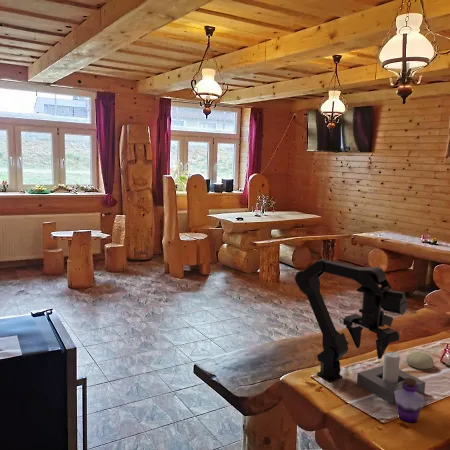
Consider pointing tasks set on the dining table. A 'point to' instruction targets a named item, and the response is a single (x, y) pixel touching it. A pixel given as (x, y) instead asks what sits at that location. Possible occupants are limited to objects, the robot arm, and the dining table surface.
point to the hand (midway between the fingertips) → (368, 353)
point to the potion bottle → (409, 401)
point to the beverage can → (391, 367)
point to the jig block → (385, 383)
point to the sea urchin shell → (420, 360)
